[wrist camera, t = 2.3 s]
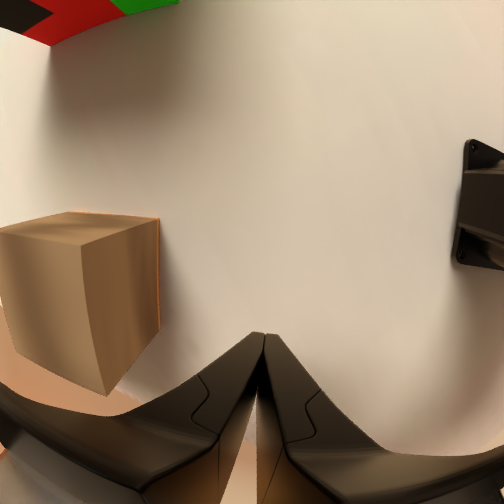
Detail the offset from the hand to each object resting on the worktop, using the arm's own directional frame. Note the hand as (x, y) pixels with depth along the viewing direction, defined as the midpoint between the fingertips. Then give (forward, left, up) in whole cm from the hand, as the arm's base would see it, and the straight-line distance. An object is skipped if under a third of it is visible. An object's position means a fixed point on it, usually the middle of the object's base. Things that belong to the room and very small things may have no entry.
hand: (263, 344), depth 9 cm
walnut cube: (+9, 0, -5) cm, 10 cm away
